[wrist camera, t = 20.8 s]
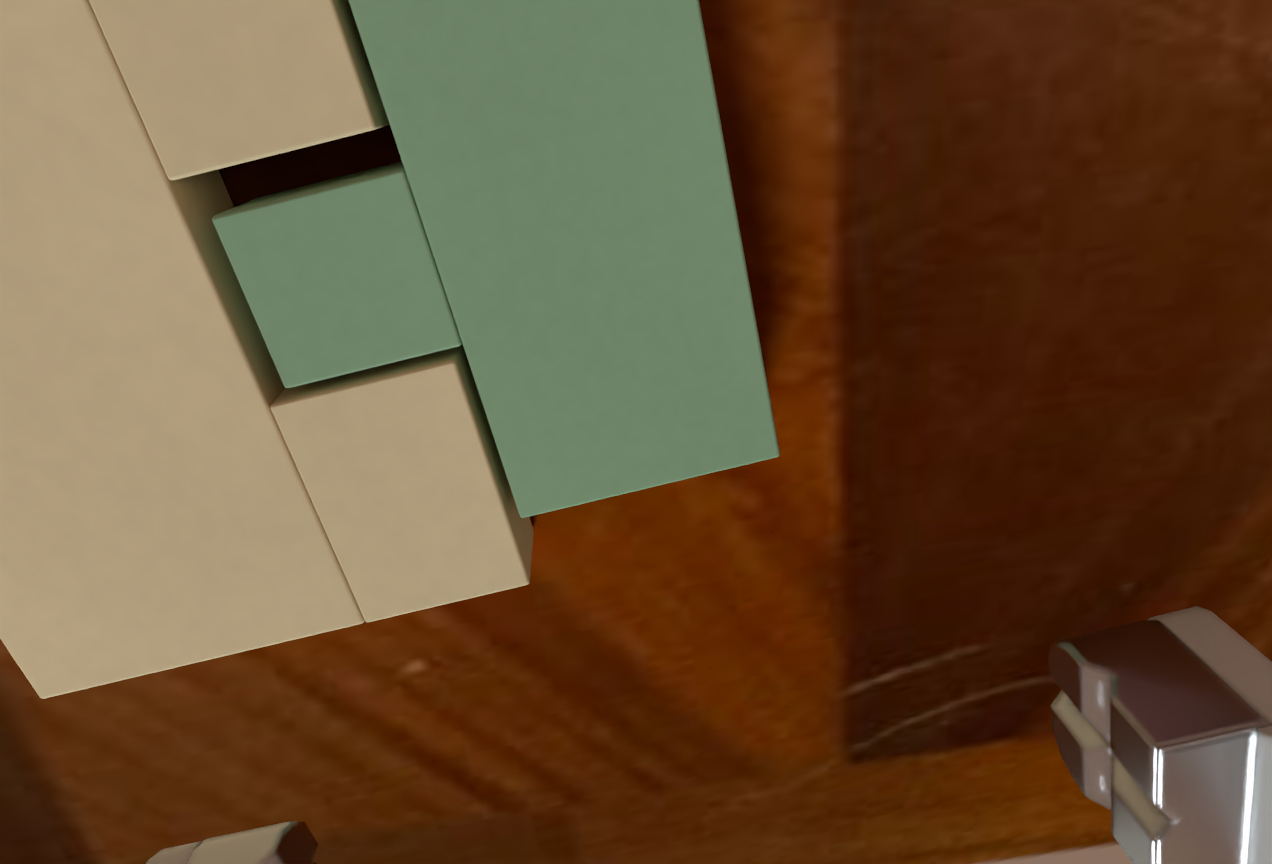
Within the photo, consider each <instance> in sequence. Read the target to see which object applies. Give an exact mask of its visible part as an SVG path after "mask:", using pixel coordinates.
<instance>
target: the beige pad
mask: <svg viewBox="0 0 1272 864" xmlns="http://www.w3.org/2000/svg"><path fill="white" fill-rule="evenodd" d="M387 125H390V124H389V121H388V118H387V115H386V112H385V109H384V106H383V103H382V100H381V97H380V94H379V91H378V88H377V85H376V82H375V79H374V76H373V73H372V70H371V67H370V64H369V61H368V58H367V55H366V52H365V49H364V46H363V43H362V40H361V37H360V34H359V31H358V28H357V25H356V22H355V19H354V16H353V13H352V10H351V6H350V3H349V0H0V639H1V640H2V642H3V643H4V645H5V646H6V648H7V649H8V651H9V652H10V654H11V655H12V657H13V658H14V660H15V661H16V663H17V664H18V666H19V667H20V669H21V670H22V672H23V673H24V675H25V676H26V678H27V679H28V680H29V682H30V683H31V685H32V686H33V688H34V689H35V691H36V692H37V694H38V695H39V697H40V698H43V699H44V698H49V697H53V696H57V695H61V694H66V693H70V692H74V691H78V690H83V689H87V688H91V687H95V686H99V685H104V684H108V683H112V682H116V681H121V680H125V679H129V678H133V677H138V676H142V675H146V674H150V673H155V672H159V671H163V670H167V669H171V668H176V667H180V666H184V665H188V664H193V663H197V662H201V661H205V660H210V659H214V658H218V657H222V656H227V655H231V654H235V653H239V652H244V651H248V650H252V649H256V648H260V647H265V646H269V645H273V644H277V643H282V642H286V641H290V640H294V639H299V638H303V637H307V636H311V635H316V634H320V633H324V632H328V631H332V630H337V629H341V628H345V627H349V626H354V625H358V624H362V623H363V622H364V621H366V622H372V621H376V620H380V619H384V618H389V617H393V616H397V615H401V614H406V613H410V612H414V611H418V610H423V609H427V608H431V607H435V606H440V605H444V604H448V603H452V602H456V601H461V600H465V599H469V598H473V597H478V596H482V595H486V594H490V593H495V592H499V591H503V590H507V589H512V588H516V587H520V586H524V585H527V584H529V582H530V570H531V558H532V545H533V533H534V529H533V526H532V523H531V520H530V517H525V518H521V517H520V515H519V512H518V509H517V506H516V503H515V500H514V497H513V494H512V491H511V488H510V485H509V482H508V479H507V476H506V473H505V470H504V467H503V464H502V461H501V458H500V455H499V452H498V449H497V446H496V443H495V440H494V437H493V434H492V431H491V428H490V425H489V422H488V419H487V416H486V413H485V410H484V407H483V404H482V401H481V398H480V395H479V392H478V389H477V386H476V383H475V380H474V377H473V374H472V371H471V368H470V365H469V362H468V359H467V356H466V353H465V350H464V347H463V344H462V345H460V346H459V347H455V348H451V349H447V350H442V351H438V352H434V353H430V354H426V355H422V356H418V357H414V358H410V359H406V360H402V361H398V362H394V363H390V364H385V365H381V366H377V367H373V368H369V369H365V370H361V371H357V372H353V373H349V374H345V375H341V376H337V377H332V378H328V379H324V380H320V381H316V382H312V383H308V384H304V385H300V386H296V387H292V388H285V386H284V385H283V382H282V380H281V378H280V375H279V373H278V371H277V369H276V366H275V364H274V362H273V359H272V357H271V355H270V352H269V350H268V348H267V346H266V343H265V341H264V339H263V336H262V334H261V332H260V329H259V327H258V325H257V322H256V320H255V318H254V316H253V313H252V311H251V309H250V306H249V304H248V302H247V299H246V297H245V295H244V293H243V290H242V288H241V286H240V283H239V281H238V279H237V276H236V274H235V272H234V269H233V267H232V265H231V263H230V260H229V258H228V256H227V253H226V251H225V249H224V246H223V244H222V242H221V240H220V237H219V235H218V233H217V230H216V228H215V226H214V223H213V221H212V218H213V217H214V216H215V215H217V214H220V213H222V212H224V211H227V210H229V209H231V208H234V205H233V203H232V201H231V198H230V196H229V193H228V191H227V189H226V186H225V184H224V181H223V179H222V177H221V174H220V172H219V170H218V169H222V168H226V167H230V166H233V165H237V164H241V163H245V162H249V161H253V160H257V159H261V158H265V157H269V156H273V155H277V154H281V153H285V152H289V151H293V150H297V149H301V148H305V147H309V146H313V145H317V144H321V143H325V142H329V141H333V140H337V139H341V138H345V137H348V136H352V135H356V134H360V133H364V132H368V131H372V130H375V129H378V128H381V127H384V126H387Z"/></svg>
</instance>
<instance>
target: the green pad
mask: <svg viewBox="0 0 1272 864" xmlns="http://www.w3.org/2000/svg"><path fill="white" fill-rule="evenodd" d="M349 3H350V6H351V10H352V13H353V16H354V19H355V22H356V25H357V28H358V31H359V34H360V37H361V40H362V43H363V46H364V49H365V52H366V55H367V58H368V61H369V64H370V67H371V70H372V73H373V76H374V79H375V82H376V85H377V88H378V91H379V94H380V97H381V100H382V103H383V106H384V109H385V112H386V115H387V118H388V121H389V124H390V127H391V130H392V133H393V136H394V139H395V142H396V145H397V148H398V151H399V154H400V157H401V160H402V161H400V162H396V163H393V164H389V165H385V166H381V167H377V168H373V169H369V170H365V171H361V172H357V173H353V174H349V175H345V176H341V177H337V178H333V179H329V180H325V181H321V182H317V183H313V184H309V185H305V186H301V187H297V188H293V189H289V190H285V191H281V192H278V193H274V194H270V195H266V196H262V197H258V198H255V199H253V200H250V201H248V202H246V203H243V204H241V205H239V206H236V207H234V208H231V209H229V210H227V211H224V212H222V213H220V214H217V215H215V216H214V217H213V218H212V221H213V223H214V226H215V228H216V230H217V233H218V235H219V237H220V240H221V242H222V244H223V246H224V249H225V251H226V253H227V256H228V258H229V260H230V263H231V265H232V267H233V269H234V272H235V274H236V276H237V279H238V281H239V283H240V286H241V288H242V290H243V293H244V295H245V297H246V299H247V302H248V304H249V306H250V309H251V311H252V313H253V316H254V318H255V320H256V322H257V325H258V327H259V329H260V332H261V334H262V336H263V339H264V341H265V343H266V346H267V348H268V350H269V352H270V355H271V357H272V359H273V362H274V364H275V366H276V369H277V371H278V373H279V375H280V378H281V380H282V382H283V385H284V386H285V388H292V387H296V386H300V385H304V384H308V383H312V382H316V381H320V380H324V379H328V378H332V377H337V376H341V375H345V374H349V373H353V372H357V371H361V370H365V369H369V368H373V367H377V366H381V365H385V364H390V363H394V362H398V361H402V360H406V359H410V358H414V357H418V356H422V355H426V354H430V353H434V352H438V351H442V350H447V349H451V348H455V347H459V346H460V345H462V344H463V347H464V350H465V353H466V356H467V359H468V362H469V365H470V368H471V371H472V374H473V377H474V380H475V383H476V386H477V389H478V392H479V395H480V398H481V401H482V404H483V407H484V410H485V413H486V416H487V419H488V422H489V425H490V428H491V431H492V434H493V437H494V440H495V443H496V446H497V449H498V452H499V455H500V458H501V461H502V464H503V467H504V470H505V473H506V476H507V479H508V482H509V485H510V488H511V491H512V494H513V497H514V500H515V503H516V506H517V509H518V512H519V515H520V517H521V518H525V517H529V516H533V515H537V514H542V513H546V512H550V511H554V510H558V509H562V508H567V507H571V506H575V505H579V504H583V503H588V502H592V501H596V500H600V499H604V498H608V497H613V496H617V495H621V494H625V493H629V492H634V491H638V490H642V489H646V488H650V487H654V486H659V485H663V484H667V483H671V482H675V481H679V480H684V479H688V478H692V477H696V476H700V475H705V474H709V473H713V472H717V471H721V470H725V469H730V468H734V467H738V466H742V465H746V464H750V463H755V462H759V461H763V460H767V459H771V458H776V457H778V456H779V454H780V452H779V446H778V441H777V435H776V430H775V424H774V418H773V413H772V407H771V402H770V396H769V390H768V385H767V379H766V373H765V368H764V362H763V357H762V351H761V345H760V340H759V334H758V329H757V323H756V317H755V312H754V306H753V300H752V295H751V289H750V284H749V278H748V272H747V267H746V261H745V256H744V250H743V244H742V239H741V233H740V227H739V222H738V216H737V211H736V205H735V199H734V194H733V188H732V183H731V177H730V171H729V166H728V160H727V154H726V149H725V143H724V138H723V132H722V126H721V121H720V115H719V110H718V104H717V98H716V93H715V87H714V81H713V76H712V70H711V65H710V59H709V53H708V48H707V42H706V36H705V31H704V25H703V20H702V14H701V8H700V3H699V0H349Z"/></svg>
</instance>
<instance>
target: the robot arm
mask: <svg viewBox="0 0 1272 864" xmlns="http://www.w3.org/2000/svg"><path fill="white" fill-rule="evenodd" d="M1049 673H1050V674H1051V676H1052V677H1053V678H1054V679H1055V681H1056V682H1057V683H1058V685H1059V686H1060V687H1061V688H1062V690H1061V692H1060V693H1059V695H1058V696H1057V698H1056V699H1055V700H1054V702H1053V703H1052V705H1051V712H1052V723H1053V732H1054V735H1055V738H1056V741H1057V744H1058V747H1059V750H1060V753H1061V756H1062V758H1063V760H1064V762H1065V764H1066V766H1067V768H1068V770H1069V772H1070V774H1071V776H1072V777H1073V779H1074V780H1075V782H1076V783H1077V785H1078V786H1079V788H1080V789H1081V790H1082V792H1083V793H1084V795H1085V796H1086V797H1087V798H1089V799H1091V800H1093V801H1095V802H1097V803H1099V804H1101V805H1102V806H1104V807H1106V808H1108V809H1110V810H1111V816H1112V834H1113V836H1114V837H1115V839H1116V840H1117V841H1118V843H1119V844H1120V845H1121V847H1122V848H1123V849H1124V851H1125V852H1126V854H1127V855H1128V857H1129V858H1130V859H1131V861H1132V862H1133V864H1272V661H1270V660H1269V659H1268V658H1267V657H1266V656H1264V655H1263V654H1262V653H1261V652H1259V651H1258V650H1257V649H1256V648H1255V647H1253V646H1252V645H1251V644H1250V643H1249V642H1247V641H1246V640H1245V639H1244V638H1243V637H1241V636H1240V635H1239V634H1238V633H1237V632H1235V631H1234V630H1233V629H1232V628H1231V627H1229V626H1228V625H1227V624H1226V623H1225V622H1223V621H1222V620H1221V619H1220V618H1218V617H1217V616H1216V615H1215V614H1214V613H1212V612H1211V611H1210V610H1207V609H1204V608H1201V607H1198V606H1196V607H1192V608H1188V609H1184V610H1180V611H1176V612H1172V613H1168V614H1164V615H1160V616H1156V617H1152V618H1149V619H1148V620H1142V621H1138V622H1134V623H1129V624H1125V625H1121V626H1117V627H1113V628H1109V629H1105V630H1101V631H1097V632H1093V633H1088V634H1084V635H1080V636H1076V637H1072V638H1068V639H1064V640H1060V641H1056V642H1053V643H1052V646H1051V648H1050V651H1049ZM317 845H318V843H317V842H316V840H315V838H314V837H313V835H312V833H311V832H310V830H309V829H308V827H307V825H306V824H305V822H296V821H291V822H286V823H281V824H276V825H271V826H267V827H262V828H257V829H252V830H247V831H243V832H238V833H233V834H228V835H223V836H219V837H214V838H209V839H206V840H205V841H201V842H196V843H191V844H186V845H181V846H176V847H171V848H166V849H162V850H160V851H159V852H158V853H157V854H155V855H154V856H153V857H152V858H150V859H149V860H148V861H147V863H146V864H316V863H315V862H313V861H312V860H313V857H314V854H315V851H316V848H317Z"/></svg>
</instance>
